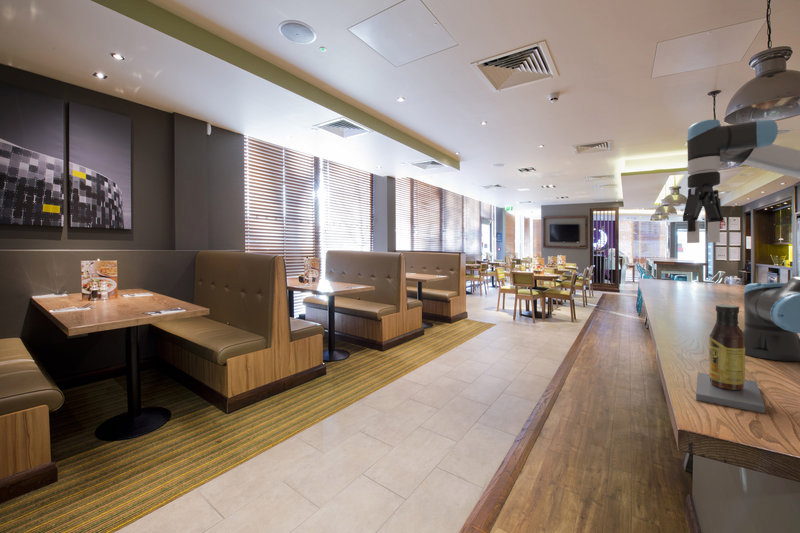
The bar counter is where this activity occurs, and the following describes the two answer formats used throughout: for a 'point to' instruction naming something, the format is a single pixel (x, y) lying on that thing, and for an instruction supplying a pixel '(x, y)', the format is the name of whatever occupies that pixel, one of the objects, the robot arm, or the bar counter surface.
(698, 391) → the gray rectangular mat
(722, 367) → the sauce bottle
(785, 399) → the bar counter surface
